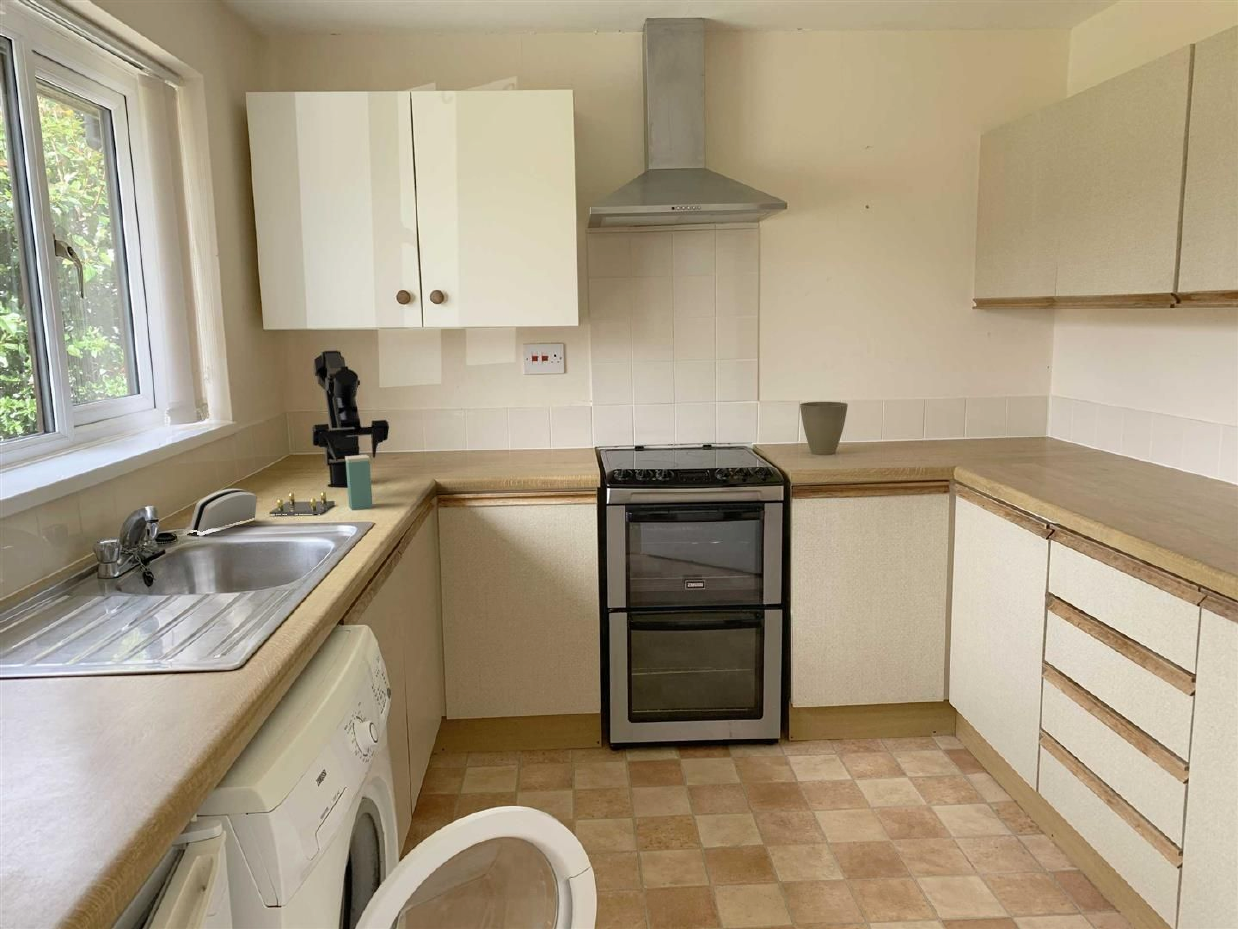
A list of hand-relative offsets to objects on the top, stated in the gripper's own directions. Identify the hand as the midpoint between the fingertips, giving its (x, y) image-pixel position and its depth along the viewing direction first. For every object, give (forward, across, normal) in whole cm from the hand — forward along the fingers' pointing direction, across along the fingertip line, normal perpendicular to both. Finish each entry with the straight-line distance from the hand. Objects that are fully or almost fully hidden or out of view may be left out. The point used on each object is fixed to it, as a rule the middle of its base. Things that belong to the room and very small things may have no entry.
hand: (355, 458), depth 231 cm
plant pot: (+5, -146, -12) cm, 147 cm away
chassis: (+9, +14, -8) cm, 18 cm away
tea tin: (+11, 0, -6) cm, 12 cm away
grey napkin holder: (+17, +32, -1) cm, 36 cm away
